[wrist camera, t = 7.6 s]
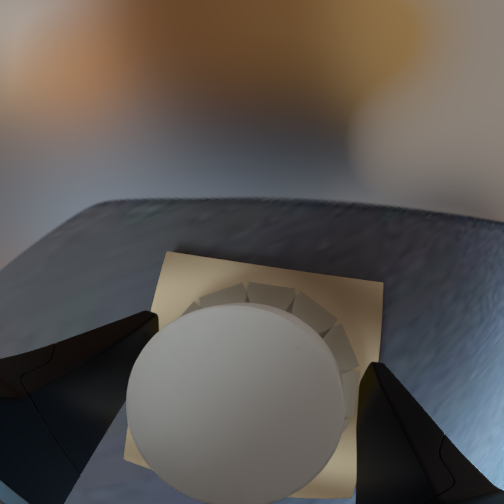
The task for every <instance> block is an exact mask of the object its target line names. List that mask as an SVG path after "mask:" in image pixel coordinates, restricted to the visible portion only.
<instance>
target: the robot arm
mask: <svg viewBox="0 0 504 504" xmlns="http://www.w3.org/2000/svg"><path fill="white" fill-rule="evenodd" d="M157 332H159V318H158V315H157V314H156V313H154V312H150V311H147V310H146V311H142V312H140V313H137V314H134V315H132V316H129V317H126V318H123V319H121V320H118V321H115V322H113V323H110V324H107V325H104V326H102V327H99V328H96V329H93V330H91V331H88V332H85V333H82V334H79V335H77V336H74V337H71V338H68V339H65V340H63V341H60V342H57V343H56V344H55V343H54V344H51V345H48V346H46V347H42V348H39V349H36V350H33V351H30V352H26V353H22V354H19V355H15V356H10V357H6V358H2V359H0V504H64V503H65V501H66V499H67V497H68V496H69V494H70V492H71V490H72V489H73V487H74V485H75V484H76V482H77V480H78V478H79V477H80V474H81V473H82V471H83V470H84V468H85V466H86V465H87V463H88V461H89V460H90V458H91V456H92V455H93V453H94V451H95V450H96V448H97V446H98V445H99V443H100V441H101V440H102V438H103V436H104V435H105V433H106V431H107V430H108V428H109V427H110V425H111V423H112V422H113V420H114V418H115V417H116V415H117V414H118V412H119V410H120V409H121V407H122V406H123V404H124V402H125V401H126V394H127V387H128V381H129V377H130V374H131V371H132V369H133V366H134V364H135V362H136V360H137V358H138V356H139V355H140V353H141V351H142V350H143V348H144V347H145V346H146V344H147V343H148V342H149V341H150V340H151V338H152V337H153V336H154V335H155V334H156V333H157ZM356 450H357V476H356V504H504V491H503V490H501V489H499V488H497V487H496V486H494V485H493V484H492V483H491V482H490V481H489V480H488V479H487V478H486V477H485V476H484V475H483V474H482V473H481V472H480V471H479V470H478V469H477V468H476V467H475V466H474V465H473V464H472V463H471V462H470V461H469V460H468V459H467V458H466V457H465V456H464V455H463V454H462V453H461V452H460V451H459V450H458V449H457V448H456V446H455V445H454V444H453V443H452V442H451V441H450V440H449V438H448V437H447V436H446V435H444V433H443V431H442V430H441V429H440V428H439V427H438V425H437V424H436V423H435V422H434V421H433V420H432V418H431V417H430V416H429V415H428V414H427V413H426V411H425V410H424V409H423V408H422V407H421V406H420V404H419V403H418V402H417V401H416V400H415V399H414V398H413V396H412V395H411V394H410V393H409V392H408V391H407V389H406V388H405V387H404V386H403V385H402V384H401V383H400V381H399V380H398V379H397V378H396V377H395V376H394V375H393V373H392V372H391V371H390V370H389V369H388V368H387V367H386V366H385V364H383V363H380V362H370V364H369V365H368V367H367V369H366V371H365V373H364V375H363V377H362V379H361V381H360V384H359V396H358V410H357V423H356Z"/></svg>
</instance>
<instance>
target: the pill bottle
mask: <svg viewBox="0 0 504 504" xmlns="http://www.w3.org/2000/svg"><path fill="white" fill-rule="evenodd" d="M126 412H127V420H128V425H129V429H130V432H131V435H132V438H133V440H134V442H135V445H136V447H137V448H138V450H139V452H140V454H141V455H142V457H143V459H144V460H145V461H146V463H147V464H148V465H149V467H150V468H151V469H152V470H153V471H154V472H155V473H156V474H157V475H158V476H159V477H160V478H161V479H162V480H163V481H165V482H166V483H167V484H168V485H170V486H171V487H173V488H174V489H176V490H177V491H179V492H181V493H183V494H184V495H186V496H188V497H191V498H193V499H195V500H198V501H201V502H204V503H208V504H269V503H272V502H275V501H278V500H281V499H284V498H286V497H288V496H290V495H292V494H294V493H295V492H297V491H299V490H300V489H302V488H303V487H305V486H306V485H307V484H308V483H310V482H311V481H312V480H313V479H314V478H315V477H316V476H317V475H318V474H319V473H320V472H321V471H322V470H323V468H324V467H325V466H326V465H327V463H328V462H329V460H330V459H331V457H332V456H333V454H334V452H335V450H336V448H337V446H338V443H339V441H340V438H341V435H342V431H343V426H344V420H345V398H344V391H343V384H342V377H341V374H340V370H339V367H338V365H337V362H336V360H335V358H334V356H333V354H332V352H331V350H330V349H329V347H328V346H327V344H326V343H325V341H324V340H323V339H322V338H321V337H320V336H319V334H318V333H317V332H316V331H314V330H313V329H312V328H311V327H310V326H309V325H308V324H306V323H305V322H304V321H302V320H301V319H299V318H297V317H296V316H294V315H292V314H290V313H288V312H286V311H284V310H281V309H279V308H276V307H272V306H268V305H264V304H257V303H245V302H242V303H229V304H223V305H215V306H210V307H206V308H202V309H199V310H195V311H193V312H190V313H187V314H185V315H183V316H181V317H179V318H177V319H175V320H174V321H172V322H170V323H169V324H167V325H166V326H165V327H163V328H162V329H161V330H160V331H159V332H157V333H156V334H155V335H154V336H153V337H152V338H151V340H150V341H149V342H148V343H147V344H146V346H145V347H144V348H143V350H142V351H141V353H140V355H139V356H138V358H137V360H136V362H135V364H134V366H133V369H132V371H131V374H130V377H129V381H128V387H127V394H126Z"/></svg>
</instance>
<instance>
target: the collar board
mask: <svg viewBox="0 0 504 504" xmlns="http://www.w3.org/2000/svg"><path fill="white" fill-rule="evenodd" d="M242 302H245V303H257V304H264V305H268V306H272V307H276V308H279V309H281V310H284V311H286V312H288V313H290V314H292V315H294V316H296V317H297V318H299V319H301V320H302V321H304V322H305V323H306V324H308V325H309V326H310V327H311V328H312V329H313V330H314V331H316V332H317V333H318V334H319V336H320V337H321V338H322V339H323V340H324V341H325V343H326V344H327V346H328V347H329V349H330V350H331V352H332V354H333V356H334V358H335V360H336V362H337V365H338V367H339V370H340V374H341V377H342V384H343V391H344V398H345V420H344V426H343V431H342V435H341V438H340V441H339V443H338V446H337V448H336V450H335V452H334V454H333V456H332V457H331V459H330V460H329V462H328V463H327V465H326V466H325V467H324V468H323V470H322V471H321V472H320V473H319V474H318V475H317V476H316V477H315V478H314V479H313V480H312V481H311V482H310V483H308V484H307V485H306V486H305V487H303V488H302V489H300V490H299V491H297V492H295V493H294V494H292V495H290V496H288V497H295V498H323V499H334V498H352V496H353V492H354V489H355V485H356V476H357V450H356V423H357V410H358V396H359V384H360V381H361V379H362V377H363V375H364V373H365V371H366V369H367V367H368V365H369V364H370V362H378V360H379V350H380V339H381V325H382V308H383V282H375V281H368V280H360V279H353V278H346V277H339V276H331V275H324V274H317V273H310V272H303V271H296V270H289V269H282V268H275V267H268V266H261V265H255V264H248V263H241V262H234V261H228V260H221V259H215V258H208V257H201V256H195V255H188V254H182V253H175V252H169V251H167V252H166V256H165V259H164V263H163V266H162V270H161V274H160V277H159V281H158V285H157V288H156V292H155V296H154V300H153V304H152V308H151V312H154V313H156V314H157V315H158V318H159V331H160V330H161V329H162V328H163V327H165V326H166V325H167V324H169V323H170V322H172V321H174V320H175V319H177V318H179V317H181V316H183V315H185V314H187V313H190V312H193V311H195V310H199V309H202V308H206V307H210V306H215V305H223V304H229V303H242ZM124 460H127V461H130V462H132V463H135V464H138V465H140V466H143V467H146V468H149V469H151V468H150V467H149V465H148V464H147V463H146V461H145V460H144V459H143V457H142V455H141V454H140V452H139V450H138V448H137V447H136V445H135V442H134V440H133V438H132V435H131V432H130V429H129V425H128V430H127V437H126V444H125V452H124Z"/></svg>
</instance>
